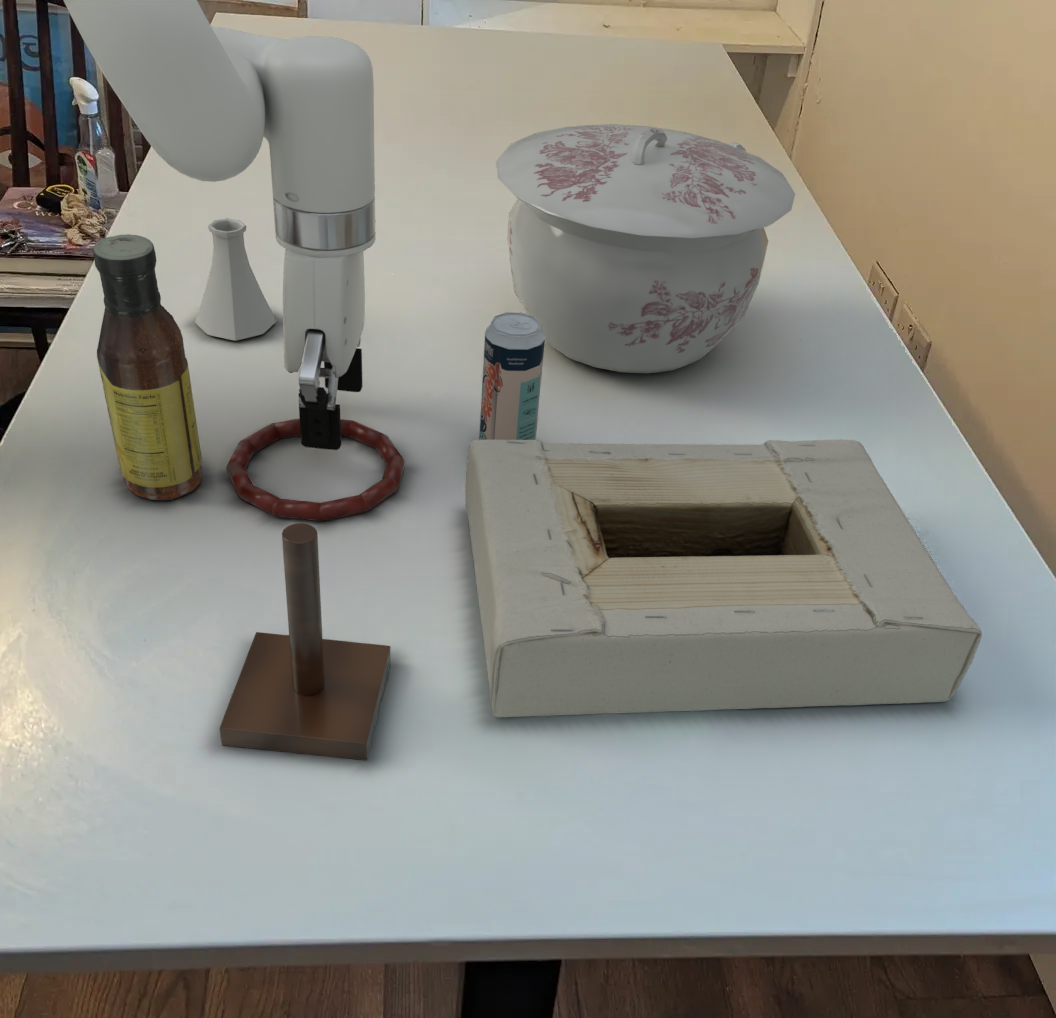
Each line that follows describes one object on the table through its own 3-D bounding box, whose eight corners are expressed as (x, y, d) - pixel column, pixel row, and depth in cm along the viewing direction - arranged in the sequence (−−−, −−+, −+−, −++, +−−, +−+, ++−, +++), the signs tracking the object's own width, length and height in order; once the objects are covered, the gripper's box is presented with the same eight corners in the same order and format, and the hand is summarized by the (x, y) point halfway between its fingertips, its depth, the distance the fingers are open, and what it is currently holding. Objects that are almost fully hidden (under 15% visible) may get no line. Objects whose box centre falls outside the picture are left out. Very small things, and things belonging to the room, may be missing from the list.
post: (221, 745, 72) (198, 572, 64) (257, 648, 79) (241, 481, 71) (366, 760, 72) (363, 590, 64) (390, 662, 79) (390, 496, 71)
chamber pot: (506, 413, 106) (523, 183, 92) (470, 281, 126) (479, 77, 113) (802, 408, 110) (858, 188, 97) (720, 281, 131) (757, 86, 118)
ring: (209, 513, 91) (207, 498, 90) (254, 421, 101) (253, 406, 101) (387, 531, 91) (387, 516, 90) (413, 437, 101) (414, 423, 100)
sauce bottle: (158, 453, 97) (123, 216, 84) (220, 476, 95) (195, 237, 82) (102, 491, 92) (57, 247, 79) (167, 516, 90) (131, 270, 77)
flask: (181, 325, 114) (169, 224, 107) (236, 301, 119) (227, 203, 112) (235, 349, 111) (226, 247, 105) (289, 324, 116) (283, 225, 109)
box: (489, 729, 75) (958, 706, 80) (495, 637, 71) (994, 618, 75) (457, 520, 93) (842, 511, 98) (460, 435, 88) (865, 430, 93)
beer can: (485, 433, 103) (493, 305, 95) (539, 443, 102) (551, 315, 95) (472, 462, 99) (479, 331, 91) (528, 472, 99) (539, 341, 91)
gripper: (301, 173, 96) (310, 364, 107) (246, 261, 82) (264, 468, 93) (392, 182, 96) (393, 372, 107) (353, 271, 82) (358, 478, 93)
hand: (333, 416), depth 100 cm, fingers open, 9 cm apart
